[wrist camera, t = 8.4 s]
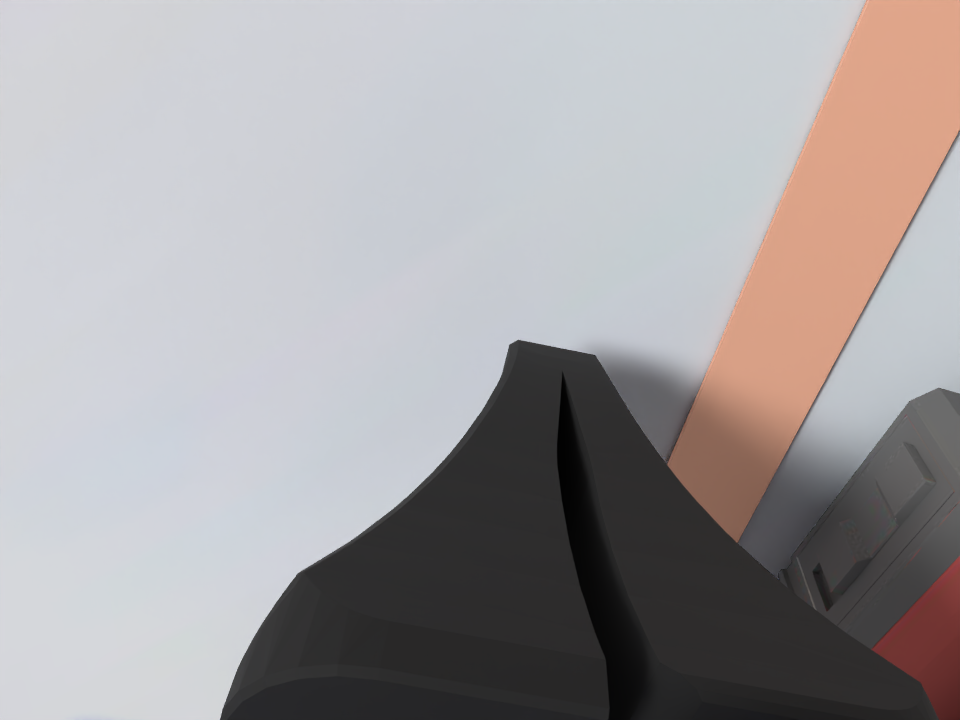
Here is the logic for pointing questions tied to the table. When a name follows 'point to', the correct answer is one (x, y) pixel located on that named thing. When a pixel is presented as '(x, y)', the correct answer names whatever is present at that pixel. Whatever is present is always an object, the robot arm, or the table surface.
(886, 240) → the finish line
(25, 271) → the table surface
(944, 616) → the walkie-talkie
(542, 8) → the table surface
